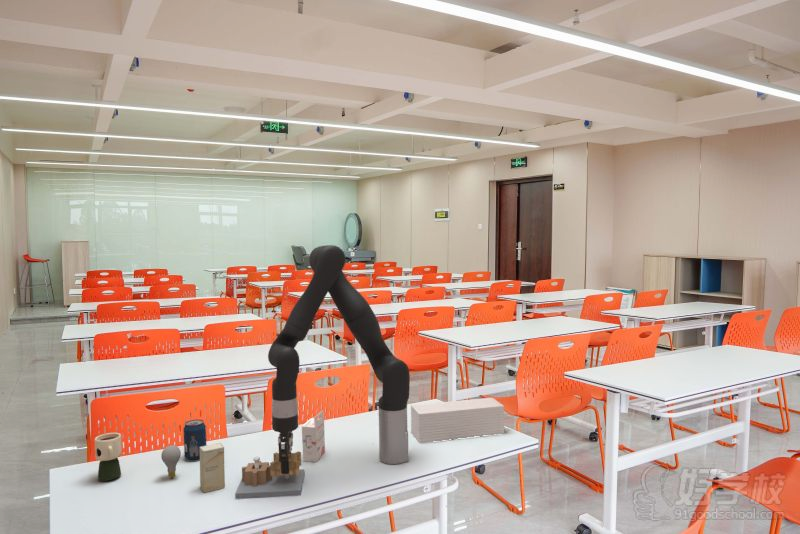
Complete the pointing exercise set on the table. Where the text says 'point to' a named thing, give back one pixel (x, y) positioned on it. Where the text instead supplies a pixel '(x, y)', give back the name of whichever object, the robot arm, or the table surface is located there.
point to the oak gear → (293, 464)
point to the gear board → (267, 482)
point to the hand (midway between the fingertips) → (286, 468)
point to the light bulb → (171, 459)
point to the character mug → (108, 455)
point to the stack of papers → (456, 419)
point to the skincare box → (212, 467)
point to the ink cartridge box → (313, 438)
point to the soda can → (194, 439)
